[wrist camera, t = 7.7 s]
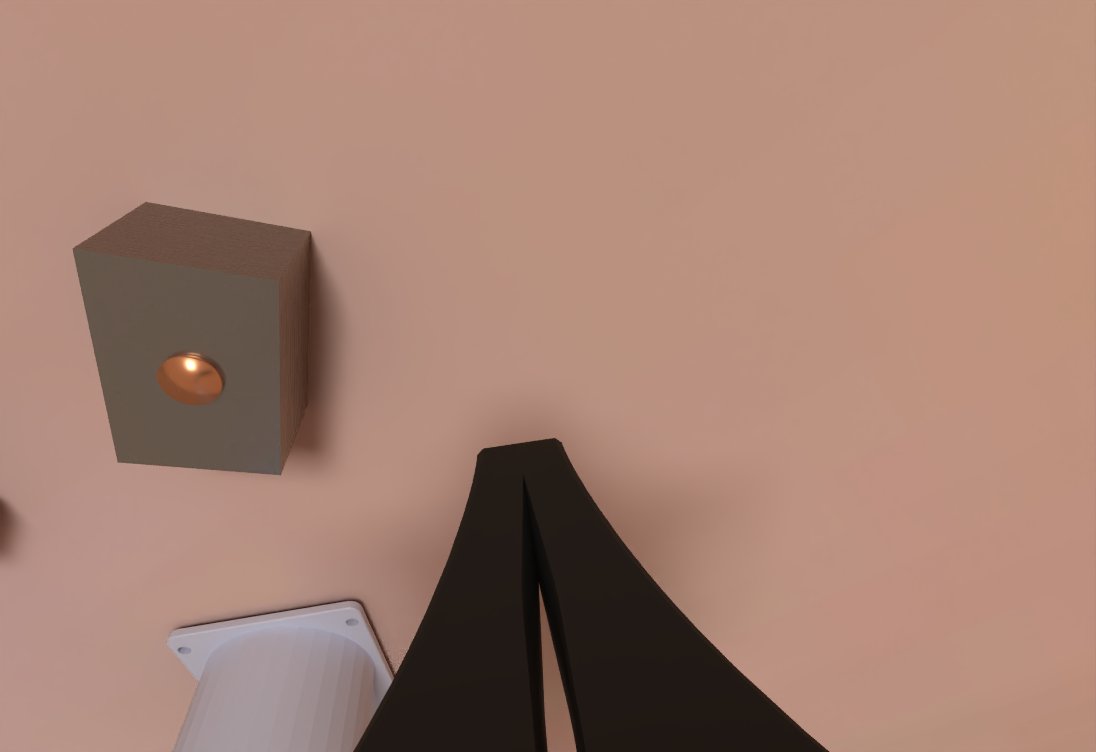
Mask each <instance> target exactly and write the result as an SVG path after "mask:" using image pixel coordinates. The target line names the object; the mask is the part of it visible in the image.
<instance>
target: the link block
mask: <svg viewBox="0 0 1096 752" xmlns="http://www.w3.org/2000/svg"><path fill="white" fill-rule="evenodd" d="M310 238H311V231H305V230H300V229H294V228H289V227H283V226H277V225H272V224H266V223H261V222H255V221H249V220H244V219H238V218H233V217H227V216H222V215H216V214H210V213H205V212H199V211H194V210H188V209H182V208H177V207H171V206H166V205H160V204H155V203H149V202H145V203H144V204H142V205H141V206H139V207H137V208H136V209H134V210H133V211H131V212H129V213H128V214H126V215H125V216H123V217H122V218H120V219H118V220H117V221H115V222H114V223H112V224H111V225H109V226H107V227H106V228H104V229H103V230H101V231H99V232H98V233H96V234H95V235H93V236H92V237H90V238H88V239H87V240H85V241H84V242H82V243H81V244H79V245H77V246H76V247H74V248H73V253H74V258H75V263H76V267H77V272H78V277H79V281H80V286H81V291H82V296H83V300H84V305H85V310H86V314H87V319H88V324H89V329H90V333H91V338H92V343H93V347H94V352H95V357H96V362H97V366H98V371H99V376H100V380H101V385H102V390H103V395H104V399H105V404H106V409H107V413H108V418H109V423H110V428H111V432H112V437H113V442H114V446H115V451H116V456H117V461H118V462H120V463H133V464H146V465H159V466H171V467H184V468H197V469H210V470H222V471H235V472H248V473H261V474H273V475H281V473H282V471H283V468H284V465H285V463H286V460H287V457H288V455H289V452H290V449H291V447H292V444H293V441H294V439H295V436H296V433H297V431H298V428H299V425H300V423H301V420H302V417H303V415H304V412H305V409H306V407H307V384H308V335H309V287H310Z"/></svg>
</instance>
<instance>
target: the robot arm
mask: <svg viewBox="0 0 1096 752" xmlns="http://www.w3.org/2000/svg"><path fill="white" fill-rule="evenodd" d="M539 585H540V590H541V594H542V598H543V602H544V607H545V611H546V615H547V619H548V624H549V628H550V632H551V636H552V641H553V645H554V649H555V653H556V658H557V662H558V666H559V670H560V675H561V679H562V683H563V687H564V692H565V696H566V700H567V704H568V709H569V713H570V718H571V723H572V728H573V733H574V738H575V743H576V750H577V752H829V751H828V750H827V749H825V748H824V747H823V746H822V745H821V744H820V743H818V742H817V741H816V740H815V739H814V738H813V737H811V736H810V735H809V734H808V733H807V732H805V731H804V730H803V729H802V728H801V727H800V726H799V725H798V724H797V723H796V722H795V721H793V720H792V719H791V718H790V717H789V716H788V715H787V714H786V713H785V712H784V711H783V710H781V709H780V708H779V707H778V706H777V705H776V704H775V703H774V702H773V701H772V700H771V699H770V698H768V697H767V696H766V695H765V694H764V693H763V692H762V691H761V690H760V689H759V688H758V687H756V686H755V685H754V684H753V683H752V682H751V681H750V680H749V679H748V678H747V677H746V676H744V675H743V674H742V673H741V672H740V671H739V670H738V669H737V668H736V667H735V666H734V665H733V664H732V663H731V662H730V661H729V660H728V659H727V658H726V657H725V656H724V655H723V654H722V653H721V652H720V651H719V650H718V649H717V648H716V647H715V646H714V645H713V644H712V643H711V642H710V641H709V640H708V639H707V638H706V637H705V636H704V635H703V634H702V633H701V632H700V631H699V630H698V629H697V628H696V627H695V626H694V624H693V623H692V622H691V621H690V620H689V619H688V618H687V617H686V616H685V615H684V614H683V613H682V612H681V611H680V609H679V608H678V607H677V606H676V605H675V604H674V603H673V602H672V601H671V599H670V598H669V597H668V596H667V595H666V594H665V593H664V592H663V590H662V589H661V588H660V587H659V586H658V585H657V583H656V582H655V581H654V580H653V579H652V577H651V576H650V575H649V574H648V573H647V571H646V570H645V569H644V568H643V566H642V565H641V564H640V563H639V561H638V560H637V559H636V558H635V557H634V555H633V554H632V553H631V552H630V550H629V549H628V548H627V546H626V545H625V544H624V542H623V541H622V540H621V539H620V537H619V536H618V534H617V533H616V532H615V530H614V529H613V527H612V526H611V525H610V523H609V522H608V520H607V519H606V518H605V516H604V515H603V513H602V512H601V511H600V509H599V508H598V506H597V505H596V503H595V502H594V500H593V499H592V497H591V496H590V494H589V493H588V491H587V489H586V488H585V486H584V485H583V483H582V481H581V480H580V478H579V476H578V475H577V473H576V471H575V469H574V468H573V466H572V464H571V462H570V460H569V458H568V456H567V454H566V452H565V450H564V447H563V445H562V442H560V441H559V440H557V439H556V438H552V439H545V440H538V441H532V442H525V443H518V444H511V445H505V446H498V447H491V448H484V449H482V451H481V452H480V453H479V454H478V455H477V462H476V469H475V474H474V478H473V483H472V487H471V491H470V494H469V498H468V501H467V505H466V508H465V512H464V515H463V518H462V521H461V524H460V527H459V530H458V532H457V535H456V538H455V541H454V544H453V547H452V550H451V553H450V555H449V558H448V561H447V563H446V566H445V568H444V571H443V573H442V575H441V578H440V580H439V583H438V585H437V587H436V590H435V592H434V595H433V597H432V599H431V602H430V604H429V607H428V609H427V611H426V613H425V616H424V618H423V620H422V622H421V624H420V626H419V629H418V631H417V633H416V635H415V637H414V639H413V641H412V643H411V645H410V647H409V650H408V652H407V654H406V655H405V657H404V659H403V661H402V663H401V665H400V667H399V669H398V671H397V673H396V675H395V677H393V674H392V672H391V670H390V668H389V666H388V663H387V661H386V659H385V657H384V654H383V652H382V650H381V648H380V646H379V643H378V641H377V639H376V637H375V634H374V632H373V630H372V628H371V626H370V623H369V621H368V619H367V617H366V614H365V612H364V610H363V608H362V606H361V605H360V604H359V603H357V602H355V601H345V602H339V603H333V604H326V605H320V606H314V607H308V608H302V609H296V610H290V611H284V612H278V613H272V614H266V615H260V616H254V617H248V618H242V619H236V620H230V621H224V622H217V623H211V624H205V625H199V626H193V627H187V628H181V629H177V630H173V631H172V632H171V633H170V634H169V636H168V638H167V641H166V643H167V645H168V646H169V648H170V649H171V650H172V651H173V652H174V654H175V655H176V656H177V657H178V658H179V660H180V661H181V662H182V663H183V664H184V666H185V667H186V668H187V669H188V670H189V672H190V673H191V674H192V675H193V676H194V678H195V679H196V680H197V681H198V682H199V683H198V686H197V688H196V691H195V693H194V696H193V699H192V701H191V704H190V706H189V709H188V712H187V714H186V717H185V719H184V722H183V725H182V727H181V730H180V732H179V735H178V738H177V740H176V743H175V745H174V748H173V751H172V752H548V750H547V739H546V726H545V712H544V690H543V668H542V645H541V623H540V601H539Z"/></svg>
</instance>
